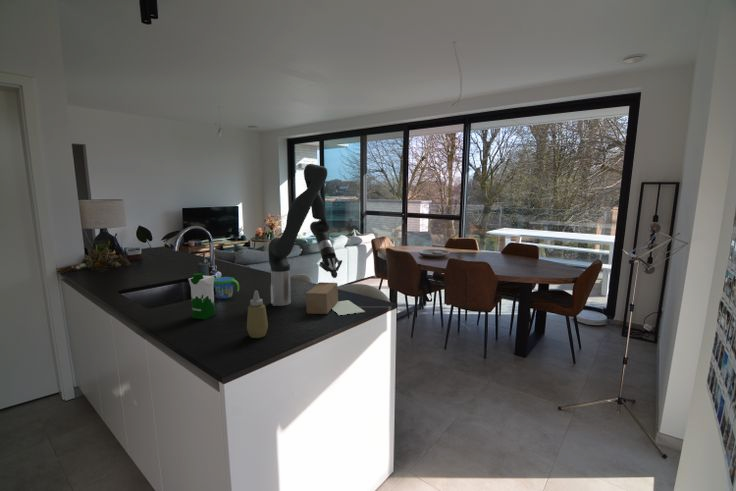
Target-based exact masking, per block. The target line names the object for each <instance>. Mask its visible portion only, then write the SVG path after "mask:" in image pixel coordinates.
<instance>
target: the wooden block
mask: <svg viewBox="0 0 736 491" xmlns="http://www.w3.org/2000/svg"><path fill="white" fill-rule="evenodd" d="M338 289H339V288H338V283H337V282H321V281H320V282H318V283H316V284H315V285H314V286H313V287H311V288H310V289H309V290H308V291H307V292H305V303H306V305H305V306H306V313H307V315H308V314H309V315H310V314H312V315H328V314H329V313H330V311H332V310H331V309H332V308H333V307H334V306H335V304H336V303H337V302H338V301H339V290H338Z"/></svg>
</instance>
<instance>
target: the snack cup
mask: <svg viewBox="0 0 736 491" xmlns="http://www.w3.org/2000/svg"><path fill="white" fill-rule="evenodd" d="M234 284H235V285H236V286H237V287H236V292H239V291H240V283H239V282H238V281H237V280H236V279H235V278H234V277H233V276H231V277H230V276H221V277H215V278H214V284H213V286H214V289H215V294H216V298H217V299H219V300H224V299H231V298H232V296H233V292H234Z"/></svg>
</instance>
